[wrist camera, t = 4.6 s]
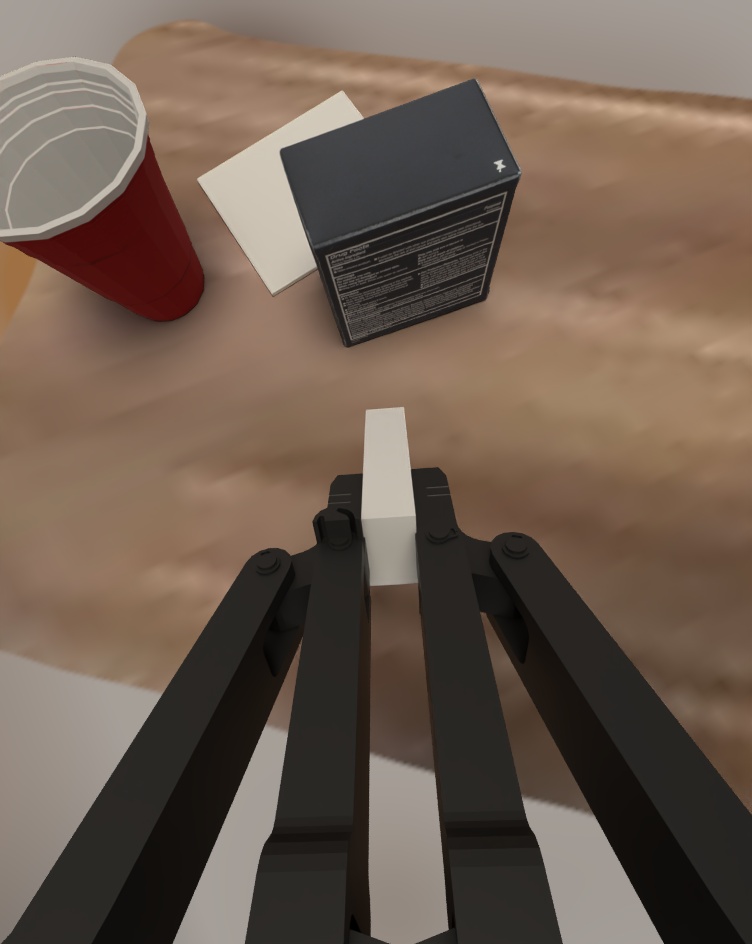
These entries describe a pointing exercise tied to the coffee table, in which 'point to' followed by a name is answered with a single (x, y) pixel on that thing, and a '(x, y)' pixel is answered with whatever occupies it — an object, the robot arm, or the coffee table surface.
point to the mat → (272, 196)
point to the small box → (405, 209)
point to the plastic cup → (92, 187)
